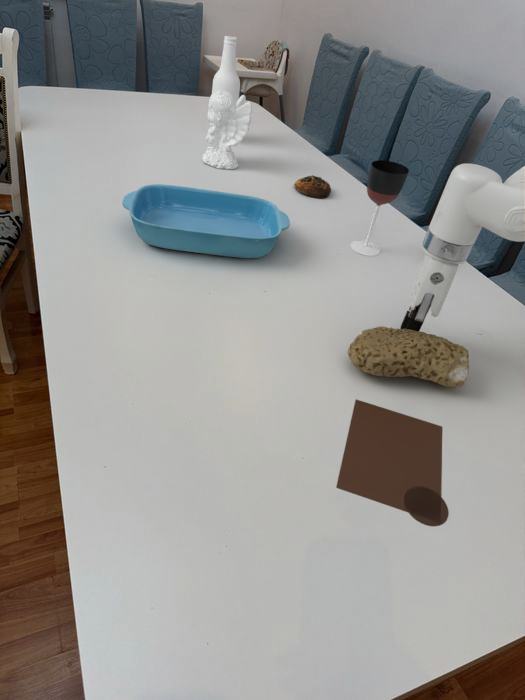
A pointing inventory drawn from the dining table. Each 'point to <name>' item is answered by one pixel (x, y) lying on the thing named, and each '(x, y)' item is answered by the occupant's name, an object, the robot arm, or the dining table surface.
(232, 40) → the alcohol
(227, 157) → the cherub figurine
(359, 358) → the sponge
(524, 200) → the robot arm
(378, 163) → the wineglass
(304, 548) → the dining table surface
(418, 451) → the brown panel with disc
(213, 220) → the casserole dish
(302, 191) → the bread roll
